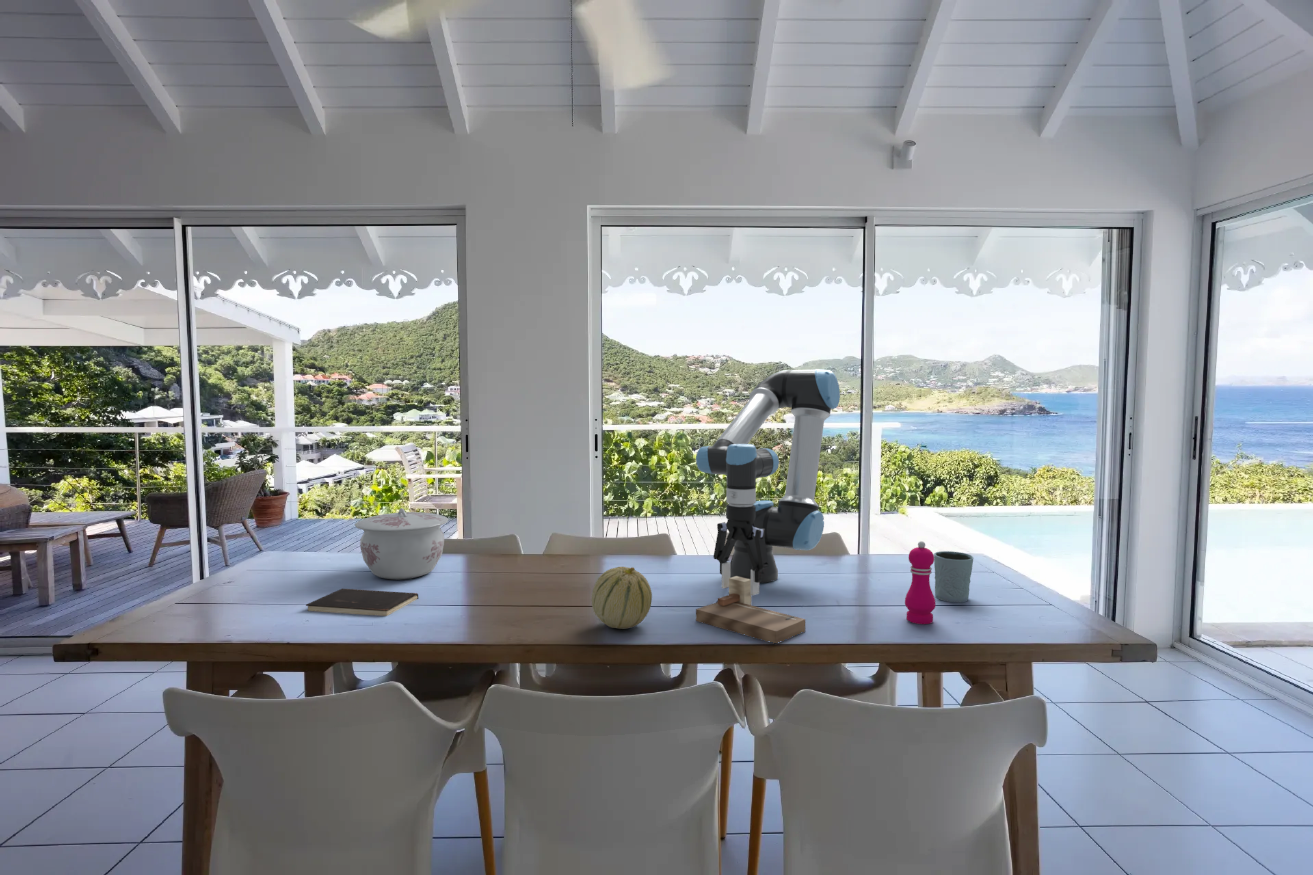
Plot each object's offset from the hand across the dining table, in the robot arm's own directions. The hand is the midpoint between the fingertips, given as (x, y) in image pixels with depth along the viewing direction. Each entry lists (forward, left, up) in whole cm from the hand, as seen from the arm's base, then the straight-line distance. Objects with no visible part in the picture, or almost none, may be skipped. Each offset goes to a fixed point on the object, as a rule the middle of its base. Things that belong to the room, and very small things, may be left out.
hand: (740, 590), depth 193 cm
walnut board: (+9, -8, -5) cm, 13 cm away
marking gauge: (0, -2, -5) cm, 5 cm away
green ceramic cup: (+35, +50, -6) cm, 61 cm away
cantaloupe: (-13, -30, -6) cm, 33 cm away
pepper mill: (+37, +25, -6) cm, 45 cm away
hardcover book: (-76, -65, -6) cm, 100 cm away
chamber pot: (-98, -42, -6) cm, 107 cm away
